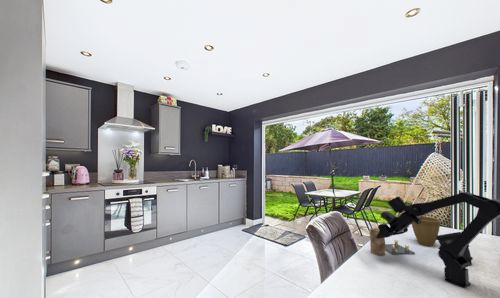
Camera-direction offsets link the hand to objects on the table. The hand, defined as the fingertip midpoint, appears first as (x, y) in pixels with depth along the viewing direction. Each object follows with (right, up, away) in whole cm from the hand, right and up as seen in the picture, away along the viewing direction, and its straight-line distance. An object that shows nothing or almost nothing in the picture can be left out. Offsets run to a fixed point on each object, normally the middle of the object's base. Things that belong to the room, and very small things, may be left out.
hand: (381, 236), depth 117 cm
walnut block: (-1, -10, +1) cm, 10 cm away
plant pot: (+39, -12, +18) cm, 44 cm away
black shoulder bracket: (+34, -10, -5) cm, 36 cm away
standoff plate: (+12, -11, +7) cm, 18 cm away
